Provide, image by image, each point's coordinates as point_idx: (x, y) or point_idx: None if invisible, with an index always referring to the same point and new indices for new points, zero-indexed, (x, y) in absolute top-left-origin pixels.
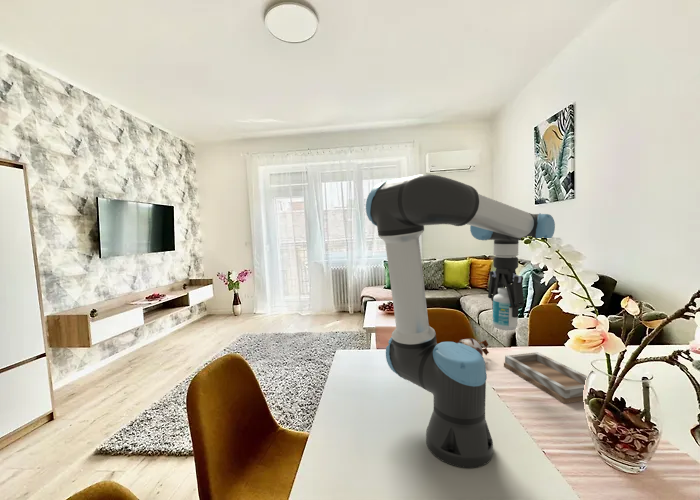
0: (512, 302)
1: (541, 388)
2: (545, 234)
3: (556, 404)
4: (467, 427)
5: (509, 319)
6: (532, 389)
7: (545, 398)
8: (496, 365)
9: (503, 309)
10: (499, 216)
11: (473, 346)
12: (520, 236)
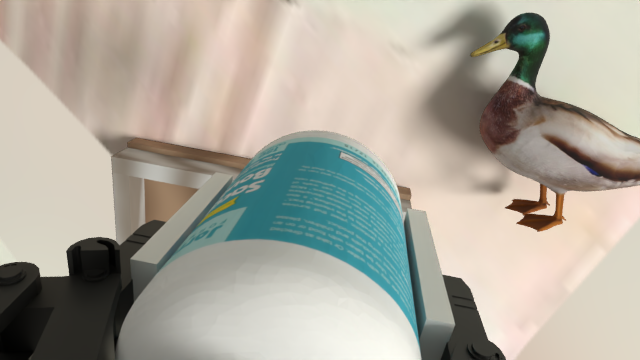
0: (58, 302)
1: (219, 154)
2: None
3: (137, 113)
4: None
5: (201, 198)
6: (232, 129)
7: (174, 115)
8: (432, 172)
9: (208, 215)
10: None
11: (537, 127)
12: None
